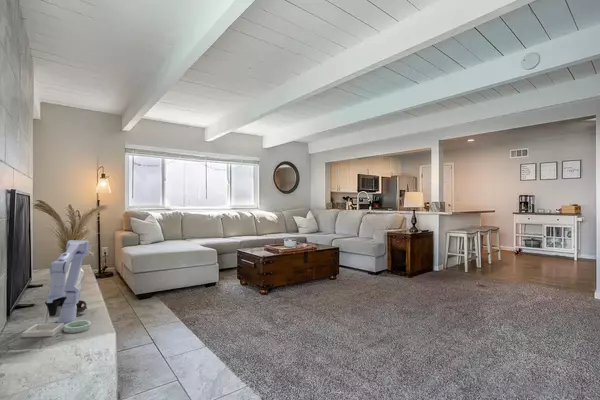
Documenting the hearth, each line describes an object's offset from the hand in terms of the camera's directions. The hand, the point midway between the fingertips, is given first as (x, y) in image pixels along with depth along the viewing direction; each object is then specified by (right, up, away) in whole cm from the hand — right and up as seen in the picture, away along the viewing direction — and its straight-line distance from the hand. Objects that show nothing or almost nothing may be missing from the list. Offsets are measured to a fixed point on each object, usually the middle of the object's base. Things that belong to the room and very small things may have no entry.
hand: (54, 314), depth 155 cm
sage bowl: (+8, -10, +4) cm, 13 cm away
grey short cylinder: (0, -1, 0) cm, 1 cm away
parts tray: (-4, -9, -2) cm, 10 cm away
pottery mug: (-11, -10, +29) cm, 33 cm away
